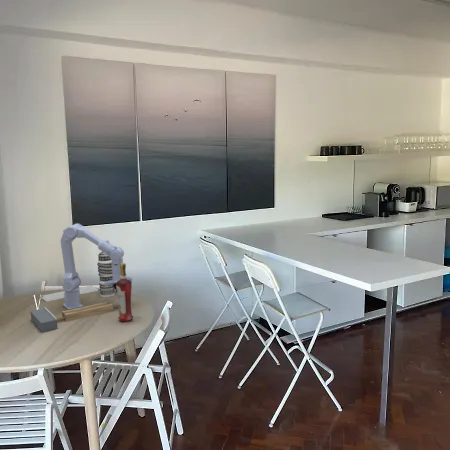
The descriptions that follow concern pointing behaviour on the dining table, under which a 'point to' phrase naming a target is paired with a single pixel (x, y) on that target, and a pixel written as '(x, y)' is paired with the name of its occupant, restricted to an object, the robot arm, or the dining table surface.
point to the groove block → (44, 320)
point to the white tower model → (105, 274)
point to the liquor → (124, 295)
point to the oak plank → (85, 312)
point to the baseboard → (61, 294)
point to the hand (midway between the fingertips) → (119, 296)
